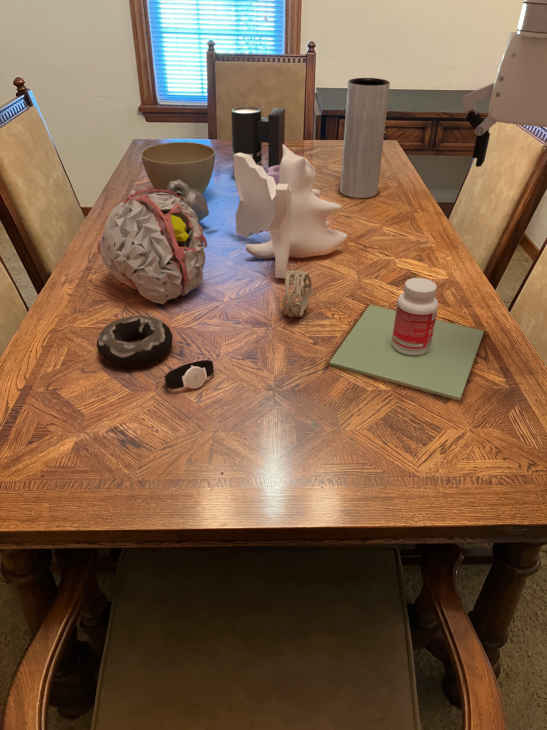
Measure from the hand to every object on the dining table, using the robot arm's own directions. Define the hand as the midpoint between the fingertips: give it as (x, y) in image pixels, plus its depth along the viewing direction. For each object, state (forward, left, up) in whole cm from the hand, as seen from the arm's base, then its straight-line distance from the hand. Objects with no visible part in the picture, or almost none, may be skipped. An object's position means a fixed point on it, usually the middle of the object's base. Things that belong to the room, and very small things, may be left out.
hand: (516, 168), depth 77 cm
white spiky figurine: (+41, -19, -28) cm, 53 cm away
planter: (+41, -62, -28) cm, 80 cm away
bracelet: (+30, +4, -28) cm, 42 cm away
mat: (+9, +6, -28) cm, 30 cm away
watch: (+36, +29, -28) cm, 54 cm away
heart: (+68, -21, -28) cm, 77 cm away
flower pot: (+80, -36, -28) cm, 92 cm away
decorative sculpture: (+58, +6, -28) cm, 65 cm away
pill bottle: (+9, +6, -28) cm, 30 cm away
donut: (+48, +26, -28) cm, 62 cm away
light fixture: (+71, -61, -28) cm, 98 cm away
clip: (+56, -44, -28) cm, 77 cm away
